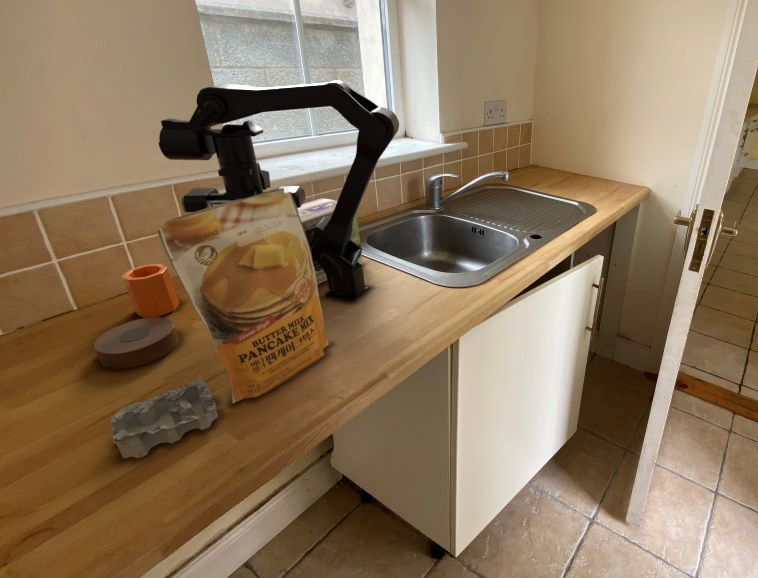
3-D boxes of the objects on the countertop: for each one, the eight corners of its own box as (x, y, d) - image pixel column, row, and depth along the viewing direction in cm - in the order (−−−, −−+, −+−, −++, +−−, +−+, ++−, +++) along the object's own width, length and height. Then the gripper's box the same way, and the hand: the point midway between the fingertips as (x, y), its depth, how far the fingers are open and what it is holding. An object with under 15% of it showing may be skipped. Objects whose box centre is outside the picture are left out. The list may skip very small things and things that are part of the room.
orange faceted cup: (184, 306, 86) (172, 269, 82) (148, 321, 81) (133, 282, 78) (168, 297, 88) (155, 261, 85) (132, 311, 84) (116, 273, 80)
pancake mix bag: (204, 398, 65) (139, 218, 53) (318, 333, 80) (288, 182, 68) (232, 417, 62) (170, 231, 50) (344, 345, 77) (317, 190, 65)
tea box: (330, 255, 108) (324, 196, 103) (363, 264, 105) (358, 203, 99) (276, 278, 95) (264, 212, 90) (311, 289, 92) (302, 221, 86)
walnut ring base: (193, 338, 77) (188, 323, 76) (132, 374, 69) (125, 359, 67) (149, 327, 80) (143, 312, 78) (84, 361, 71) (77, 345, 70)
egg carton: (120, 468, 54) (107, 444, 53) (117, 430, 59) (105, 407, 57) (222, 424, 61) (214, 401, 59) (212, 393, 66) (204, 372, 64)
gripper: (304, 150, 88) (316, 223, 95) (195, 150, 84) (216, 227, 91) (291, 164, 79) (306, 244, 85) (168, 165, 74) (194, 250, 81)
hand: (256, 241), depth 86 cm, fingers open, 9 cm apart
